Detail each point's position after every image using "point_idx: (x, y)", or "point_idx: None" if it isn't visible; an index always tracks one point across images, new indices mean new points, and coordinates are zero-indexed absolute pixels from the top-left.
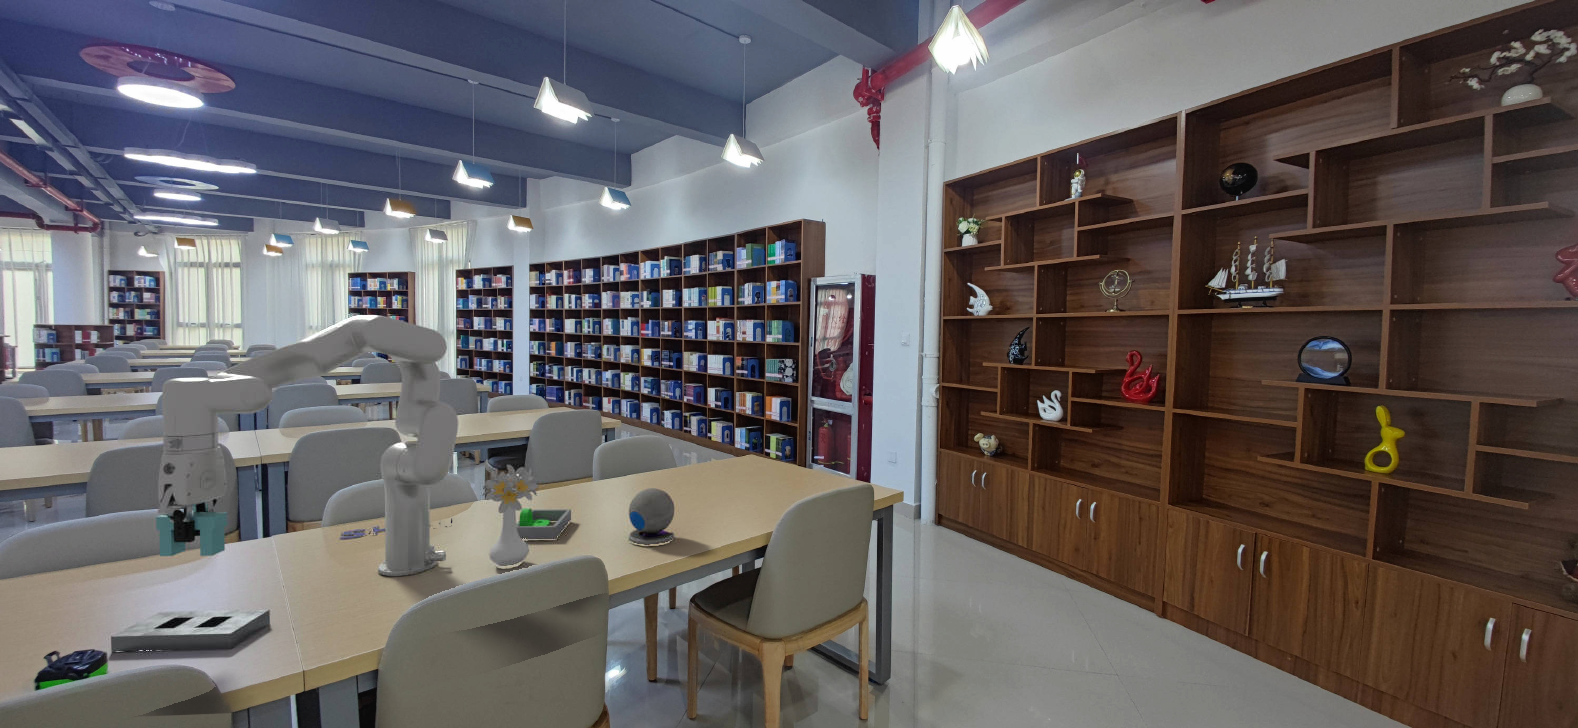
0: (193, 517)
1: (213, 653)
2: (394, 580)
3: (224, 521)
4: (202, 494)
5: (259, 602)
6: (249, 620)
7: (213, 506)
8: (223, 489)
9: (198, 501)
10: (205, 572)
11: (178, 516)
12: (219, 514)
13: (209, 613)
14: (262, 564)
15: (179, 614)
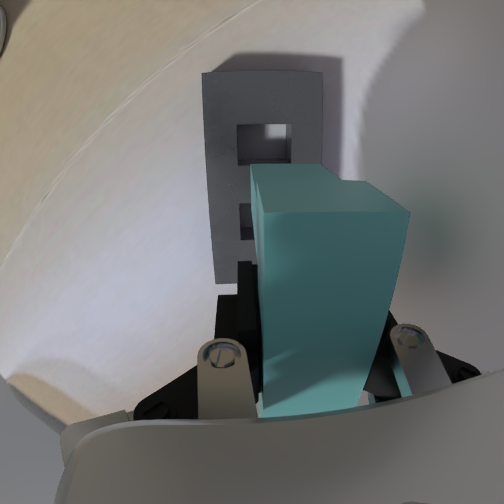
0: (377, 340)
1: (327, 95)
2: (20, 16)
3: (286, 188)
4: (467, 453)
5: (107, 180)
6: (259, 75)
7: (172, 384)
8: (119, 477)
9: (482, 388)
10: (48, 348)
11: (457, 361)
12: (345, 219)
13: (221, 188)
14: (5, 298)
15: (226, 242)
